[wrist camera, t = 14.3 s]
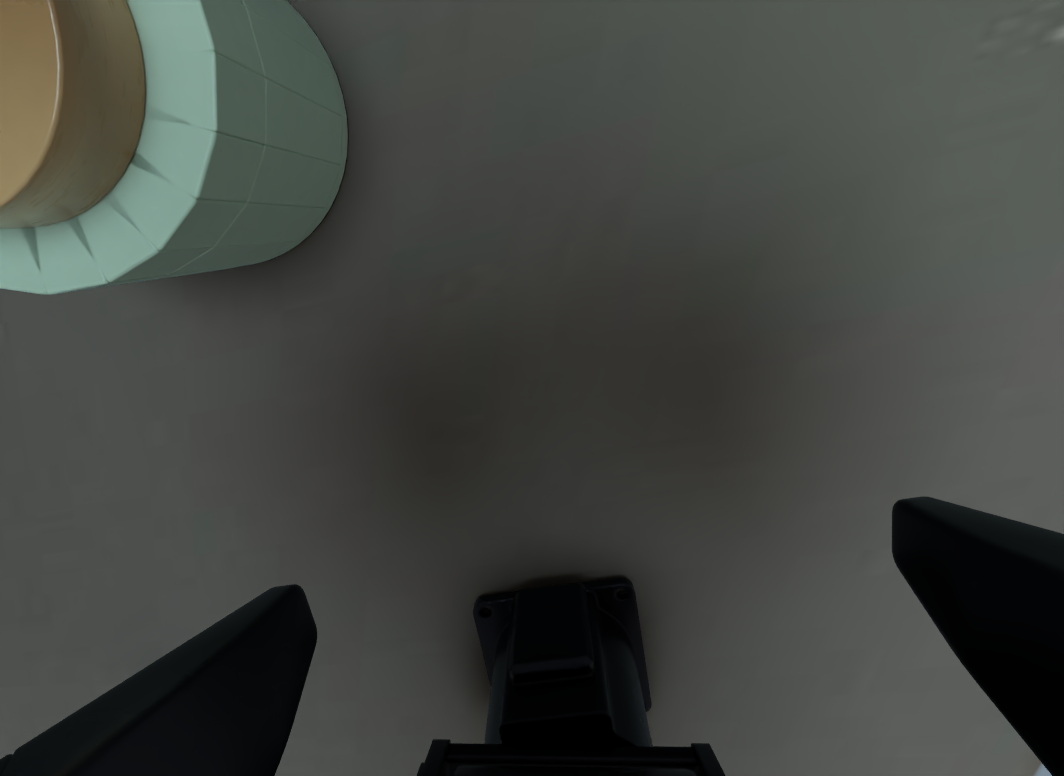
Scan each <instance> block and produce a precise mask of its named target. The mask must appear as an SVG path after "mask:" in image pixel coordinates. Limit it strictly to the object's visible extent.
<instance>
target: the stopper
mask: <svg viewBox="0 0 1064 776" xmlns="http://www.w3.org/2000/svg"><path fill="white" fill-rule="evenodd" d="M144 107H145V72H144V64H143V58H142V52H141V46H140V42H139V38H138V35H137V31H136V27H135V24H134V20H133V18H132V15H131V13H130V10H129V7H128V5H127V2H126V0H0V229H24V228H36V227H44V226H49V225H53V224H56V223H60V222H64V221H66V220H68V219H71V218H73V217H75V216H77V215H79V214H81V213H83V212H84V211H86V210H87V209H89V208H90V207H92V206H93V205H95V204H96V203H98V202H99V201H100V200H101V199H102V198H103V197H104V196H105V195H106V194H107V193H108V192H109V191H110V190H112V188H113V187H114V186H115V184H116V183H117V182H118V180H119V179H120V178H121V176H122V175H123V173H124V172H125V170H126V168H127V166H128V164H129V162H130V160H131V159H132V157H133V154H134V151H135V148H136V145H137V143H138V140H139V137H140V132H141V127H142V122H143V118H144Z"/></svg>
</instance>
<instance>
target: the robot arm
mask: <svg viewBox="0 0 1064 776" xmlns="http://www.w3.org/2000/svg"><path fill="white" fill-rule="evenodd" d="M892 553H893V558H894V561H895V563H896V565H897V567H898V569H899V570H900V572H901V573H902V575H903V576H904V578H905V579H906V581H907V582H908V584H909V585H910V587H911V589H912V590H913V592H914V593H915V595H916V596H917V598H918V599H919V601H920V602H921V604H922V605H923V607H924V608H925V610H926V611H927V613H928V614H929V616H930V617H931V619H932V620H933V622H934V623H935V625H936V626H937V628H938V629H939V631H940V632H941V634H942V635H943V637H944V638H945V640H946V641H947V643H948V644H949V646H950V647H951V649H952V650H953V652H954V653H955V654H956V656H957V657H958V659H959V660H960V662H961V663H962V664H963V665H964V667H965V668H966V669H967V671H968V672H969V673H970V674H971V676H972V677H973V678H974V680H975V681H976V682H977V683H978V685H979V686H980V687H981V688H982V689H983V691H984V692H985V693H986V694H987V696H988V697H989V698H990V699H991V701H992V702H993V703H994V704H995V706H996V707H997V708H998V709H999V710H1000V712H1001V713H1002V714H1003V715H1004V717H1005V718H1006V719H1007V720H1008V722H1009V723H1010V724H1011V725H1012V726H1013V728H1014V729H1015V730H1016V731H1017V733H1018V734H1019V735H1020V736H1021V738H1022V739H1023V740H1024V741H1025V743H1026V744H1027V745H1028V746H1029V747H1030V749H1031V750H1032V751H1033V752H1034V754H1035V755H1036V756H1037V757H1038V759H1039V760H1040V761H1041V762H1042V764H1043V765H1044V766H1045V767H1046V768H1047V770H1048V771H1049V772H1050V773H1051V775H1052V776H1064V534H1062V533H1058V532H1054V531H1051V530H1047V529H1043V528H1040V527H1036V526H1032V525H1029V524H1025V523H1022V522H1018V521H1014V520H1011V519H1007V518H1003V517H1000V516H996V515H993V514H989V513H985V512H982V511H978V510H974V509H971V508H967V507H964V506H960V505H956V504H953V503H949V502H945V501H942V500H938V499H935V498H931V497H916V498H909V499H902V500H898V501H897V502H896V503H895V504H894V506H893V510H892ZM621 589H625V590H627V591H626V592H625V593H623V594H619V593H617V591H618V590H621ZM484 607H485V608H489V609H491V611H483V610H482V609H481V608H484ZM473 615H474V619H475V623H476V627H477V631H478V635H479V639H480V643H481V647H482V651H483V656H484V660H485V664H486V668H487V672H488V676H489V680H490V684H491V693H490V702H489V710H488V718H487V726H486V734H485V743H484V744H463V743H451V741H450V740H437V739H433V741H432V744H431V747H430V749H429V752H428V755H427V757H426V760H425V763H421V765H420V768H419V771H418V773H417V776H725V774H724V772H723V770H722V768H721V766H720V764H719V762H718V760H717V758H716V756H715V754H714V752H713V750H712V748H711V746H710V744H703V743H692V744H691V747H659V746H652V741H651V736H650V731H649V726H648V721H647V716H646V712H647V711H649V709H650V708H651V698H650V691H649V684H648V678H647V671H646V664H645V657H644V650H643V644H642V637H641V630H640V623H639V616H638V609H637V603H636V596H635V591H634V586H633V584H632V582H631V581H630V580H629V579H626V578H613V579H606V580H598V581H591V582H584V583H570V584H563V585H555V586H548V587H541V588H533V589H526V590H520V591H517V592H509V593H502V594H495V595H487V596H482V597H480V598H478V599H477V600H476V602H475V604H474V610H473ZM316 642H317V628H316V624H315V622H314V619H313V616H312V613H311V610H310V607H309V604H308V601H307V598H306V595H305V593H304V591H303V589H302V588H301V587H300V586H298V585H296V584H294V585H286V586H279V587H274V588H271V589H269V590H267V591H266V592H264V593H263V594H261V595H260V596H258V597H256V598H255V599H253V600H252V601H250V602H249V603H247V604H245V605H244V606H242V607H241V608H239V609H237V610H236V611H234V612H233V613H231V614H230V615H228V616H226V617H225V618H223V619H222V620H220V621H218V622H217V623H215V624H214V625H212V626H211V627H209V628H207V629H206V630H204V631H203V632H201V633H200V634H198V635H196V636H195V637H193V638H192V639H190V640H188V641H187V642H185V643H184V644H182V645H181V646H179V647H177V648H176V649H174V650H173V651H171V652H169V653H168V654H166V655H165V656H163V657H162V658H160V659H158V660H157V661H155V662H154V663H152V664H150V665H149V666H147V667H146V668H144V669H143V670H141V671H139V672H138V673H136V674H135V675H133V676H132V677H130V678H128V679H127V680H125V681H124V682H122V683H120V684H119V685H117V686H116V687H114V688H113V689H111V690H109V691H108V692H106V693H105V694H103V695H101V696H100V697H98V698H97V699H95V700H94V701H92V702H90V703H89V704H87V705H86V706H84V707H83V708H81V709H79V710H78V711H76V712H75V713H73V714H71V715H70V716H68V717H67V718H65V719H64V720H62V721H60V722H59V723H57V724H56V725H54V726H52V727H51V728H49V729H48V730H46V731H45V732H43V733H41V734H40V735H38V736H37V737H35V738H33V739H32V740H30V741H29V742H27V743H26V744H24V745H22V746H21V747H19V748H18V749H17V750H16V751H15V752H14V754H13V755H12V754H9V755H6V756H5V757H3V758H2V759H0V776H274V775H275V773H276V770H277V768H278V765H279V763H280V760H281V757H282V755H283V752H284V749H285V747H286V744H287V741H288V738H289V735H290V732H291V729H292V726H293V722H294V719H295V715H296V712H297V709H298V705H299V702H300V698H301V695H302V691H303V688H304V684H305V681H306V677H307V674H308V671H309V667H310V664H311V660H312V657H313V653H314V650H315V646H316Z"/></svg>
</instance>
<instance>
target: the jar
mask: <svg viewBox="0 0 1064 776" xmlns="http://www.w3.org/2000/svg"><path fill="white" fill-rule="evenodd" d="M126 2H127V5H128V7H129V10H130V13H131V15H132V18H133V20H134V24H135V27H136V31H137V35H138V38H139V42H140V46H141V52H142V58H143V64H144V72H145V107H144V118H143V122H142V127H141V132H140V137H139V140H138V143H137V145H136V148H135V151H134V154H133V157H132V159H131V160H130V162H129V164H128V166H127V168H126V170H125V172H124V173H123V175H122V176H121V178H120V179H119V180H118V182H117V183H116V184H115V186H114V187H113V188H112V190H110V191H109V192H108V193H107V194H106V195H105V196H104V197H103V198H102V199H101V200H100V201H99V202H98V203H96V204H95V205H93V206H92V207H90V208H89V209H87V210H86V211H84V212H83V213H81V214H79V215H77V216H75V217H73V218H71V219H68V220H66V221H64V222H60V223H56V224H53V225H49V226H44V227H36V228H24V229H0V288H1V289H8V290H15V291H22V292H29V293H36V294H43V295H49V294H50V295H54V294H60V293H67V292H74V291H81V290H88V289H94V288H101V287H108V286H115V285H122V284H128V283H135V282H142V281H149V280H156V279H162V278H169V277H176V276H183V275H190V274H196V273H203V272H210V271H217V270H224V269H229V268H235V267H240V266H246V265H253V264H256V263H261V262H264V261H268V260H270V259H273V258H275V257H277V256H280V255H282V254H284V253H286V252H287V251H289V250H291V249H292V248H294V247H295V246H297V245H298V244H300V243H301V242H302V241H303V240H304V239H305V238H307V237H308V236H309V235H310V234H311V233H312V232H313V231H314V230H315V228H316V227H317V226H318V225H319V224H320V223H321V221H322V220H323V218H324V217H325V215H326V214H327V212H328V211H329V209H330V208H331V206H332V203H333V201H334V199H335V197H336V195H337V193H338V190H339V187H340V184H341V181H342V178H343V174H344V169H345V163H346V158H347V144H348V130H347V116H346V110H345V105H344V100H343V95H342V91H341V88H340V85H339V82H338V78H337V75H336V73H335V71H334V68H333V66H332V64H331V61H330V59H329V57H328V55H327V53H326V51H325V49H324V48H323V46H322V44H321V43H320V41H319V39H318V37H317V36H316V34H315V33H314V32H313V30H312V29H311V28H310V26H309V25H308V24H307V22H306V21H305V20H304V18H303V17H302V16H301V15H300V14H299V13H298V12H297V11H296V10H295V9H294V8H293V7H292V5H291V4H290V3H289V2H288V1H286V0H126Z"/></svg>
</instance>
